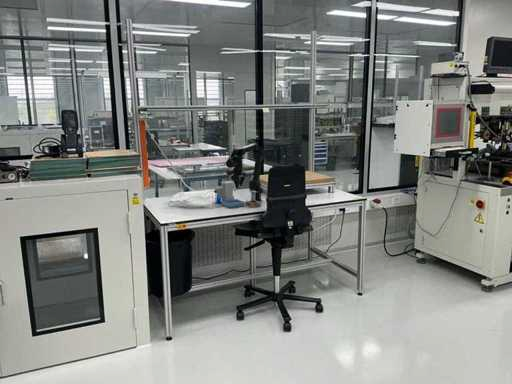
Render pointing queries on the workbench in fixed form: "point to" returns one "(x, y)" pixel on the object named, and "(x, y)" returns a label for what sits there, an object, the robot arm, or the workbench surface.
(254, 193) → the pin
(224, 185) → the circuit breaker
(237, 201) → the tray
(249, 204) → the hole block
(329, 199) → the workbench surface
